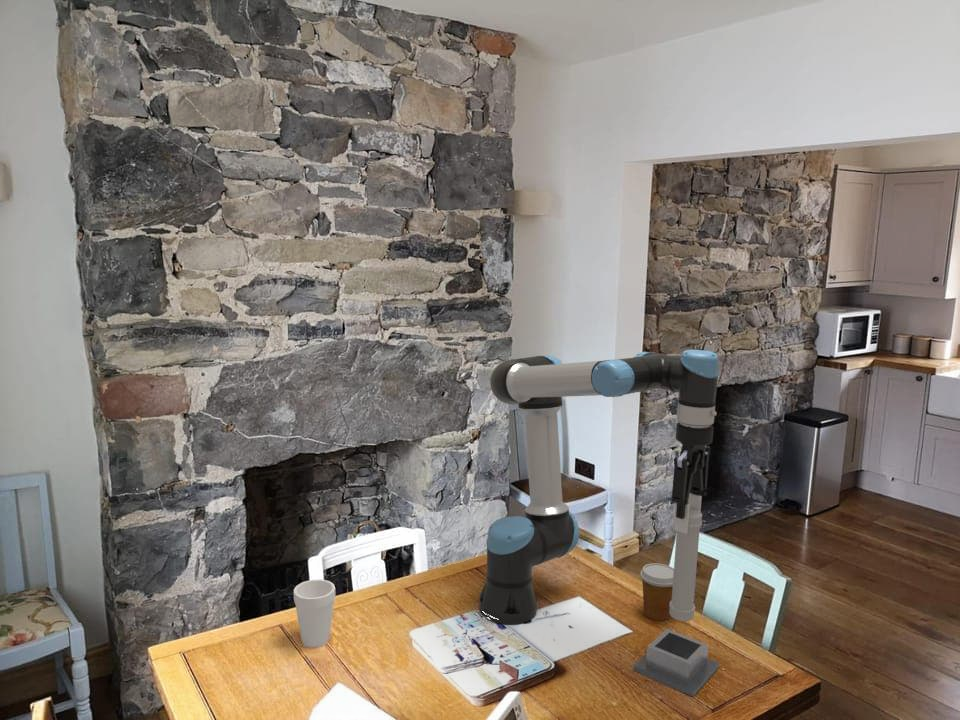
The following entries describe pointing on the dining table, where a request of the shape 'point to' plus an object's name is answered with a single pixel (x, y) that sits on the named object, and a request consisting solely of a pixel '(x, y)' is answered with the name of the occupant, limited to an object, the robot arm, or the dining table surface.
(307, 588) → the foam cup
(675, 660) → the pipe socket
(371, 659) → the dining table surface
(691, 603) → the pipe
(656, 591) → the disposable coffee cup
